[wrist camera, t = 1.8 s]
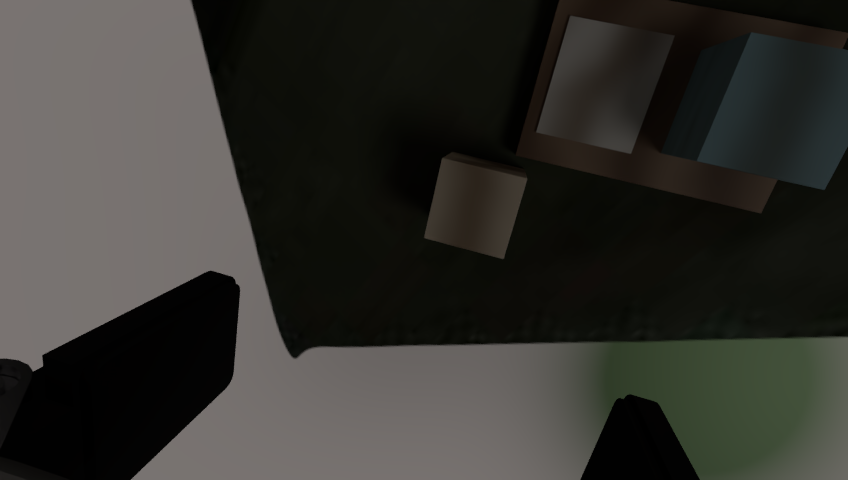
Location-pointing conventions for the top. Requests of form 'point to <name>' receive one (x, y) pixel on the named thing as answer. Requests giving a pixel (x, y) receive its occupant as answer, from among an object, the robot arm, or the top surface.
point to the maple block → (475, 204)
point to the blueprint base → (664, 100)
